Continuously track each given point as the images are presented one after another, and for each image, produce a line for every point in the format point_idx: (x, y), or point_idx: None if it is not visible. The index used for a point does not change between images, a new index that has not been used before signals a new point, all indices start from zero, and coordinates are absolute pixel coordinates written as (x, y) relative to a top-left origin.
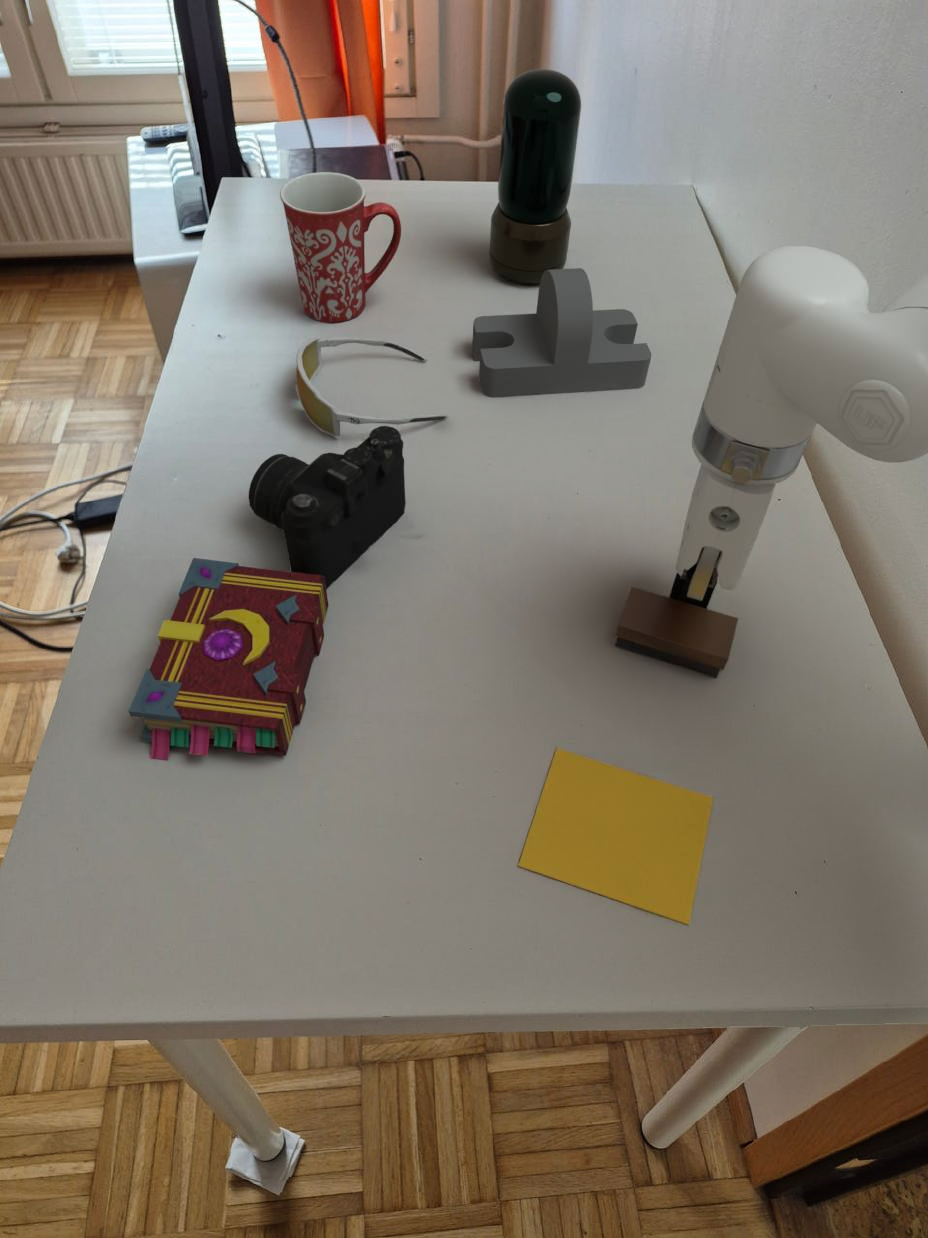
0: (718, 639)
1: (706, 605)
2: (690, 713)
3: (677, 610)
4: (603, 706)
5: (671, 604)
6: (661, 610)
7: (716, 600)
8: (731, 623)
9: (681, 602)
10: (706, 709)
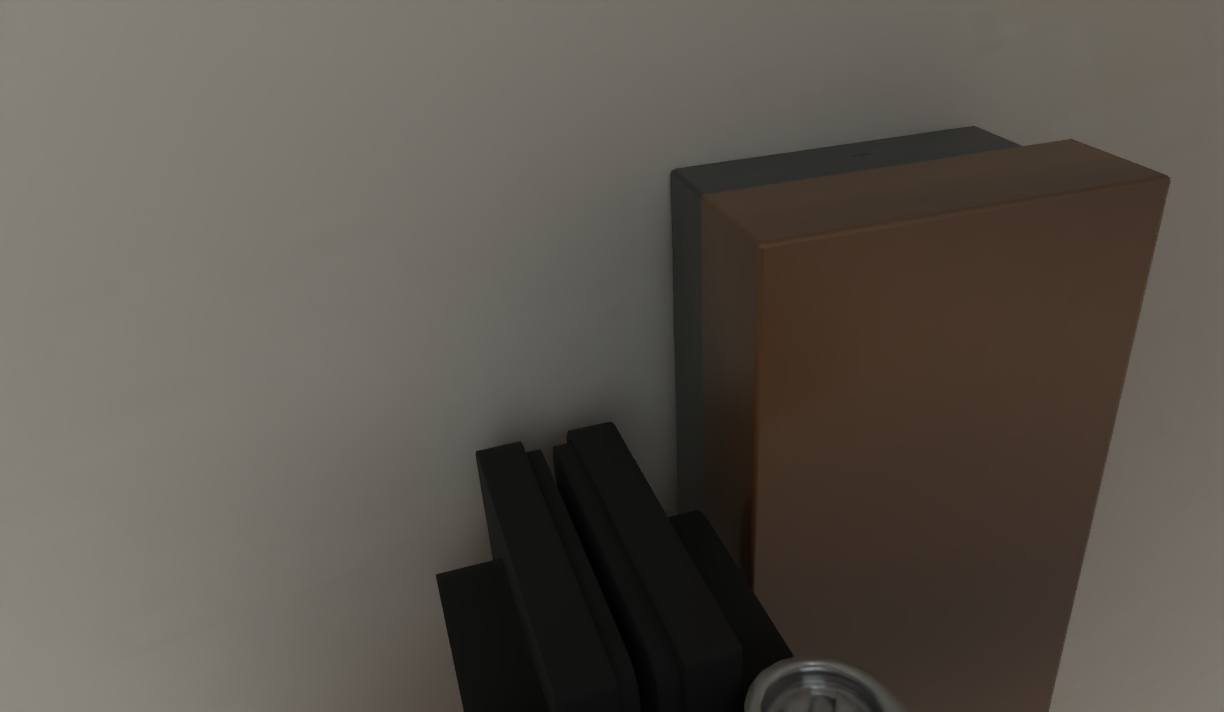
0: (1008, 302)
1: (630, 462)
2: (1216, 176)
3: (840, 617)
4: (1217, 516)
5: None
6: None
7: (325, 348)
8: (838, 275)
9: None
10: (1184, 106)
